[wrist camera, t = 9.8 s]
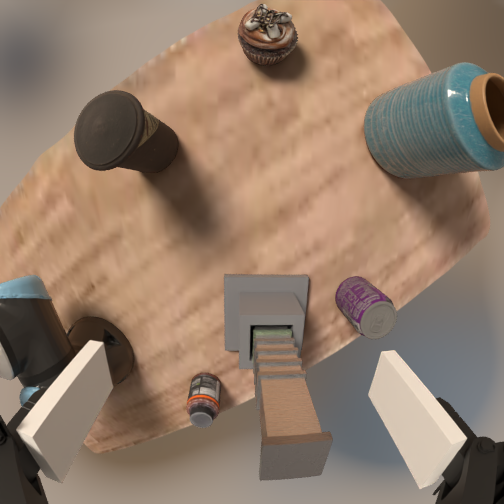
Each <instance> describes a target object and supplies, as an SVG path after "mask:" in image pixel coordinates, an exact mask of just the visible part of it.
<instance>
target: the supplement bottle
mask: <svg viewBox="0 0 504 504" xmlns="http://www.w3.org/2000/svg"><path fill="white" fill-rule="evenodd" d="M220 391H221V384H220V381H219V379H218V378H217V377H216V376H214V375H212V374H209V373H200V374H197V375H196V376H194V377H193V379H192V382H191V386H190V391H189V396H188V400H187V406H186V410H187V413H188V414H189V416H190V421H191V423H192V424H193V425H195V426H197V427H202V428H205V427H209V426H210V425H211V424H212V422H213V420H214V419H215V418H216V417H217V416H218V414H219V407H220Z"/></svg>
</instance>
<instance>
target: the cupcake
mask: <svg viewBox="0 0 504 504" xmlns="http://www.w3.org/2000/svg"><path fill="white" fill-rule="evenodd" d="M291 20H292V16H291V15H290V14H289V13H286V12H279V11H277V10H274V9H270V8H268V7H267V6H266V5H265V4H260V5H259V6H258V7H257V9H253V10H251V11H249V12H247V13H246V14H245V15H244V17H243V18H242V20H241V23H240V25H239V28H238V39H239V42H240V44H241V46H242V48H243V51H244V53H245V54H246V56H247V57H248V58H249V59H250V60H252V61H253V62H254V63H258V64H260V65H273V64H277V63H279V62H281V61H282V60H283V59H284V58H285V57H286V56H287V55H288V54H289V53H290V52H291V51H293V50H294V48H295V47H296V44H297V43H296V42H297V41H298V40H297V39H298V37H297V35H298V34H297V31H295V29H296V28H295V27H294V24H293V23H292V21H291Z"/></svg>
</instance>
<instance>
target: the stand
mask: <svg viewBox="0 0 504 504" xmlns="http://www.w3.org/2000/svg"><path fill="white" fill-rule="evenodd" d="M308 281H309V277H308V276H307V275H246V274H225V275H224V313H225V350H228V351H239V369H253V362H252V358H253V330H255V325H287V327H288V329H291V331H292V336H291V338H294V339H295V346H294V347H298V358H300V355H301V350H302V343H303V334H304V325H305V315H306V304H307V293H308Z"/></svg>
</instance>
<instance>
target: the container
mask: <svg viewBox="0 0 504 504" xmlns="http://www.w3.org/2000/svg"><path fill="white" fill-rule="evenodd" d="M74 142H75V147H76V151H77V153H78V156H79V157H80V159H81V160H82V161H83V163H84V164H86V165H87V166H88V167H90V168H92V169H94V170H99V171H105V170H110V169H113V168H116V167H120V168H126V169H132V170H136V171H141V172H146V173H155V172H159V171H161V170H163V169H165V168H166V167H167V166H168V165H169V164H170V163H171V162H172V161H173V159H174V158H175V156H176V153H177V149H178V140H177V136H176V134H175V132H174V131H173V130H172V129H171V128H170V127H168V126H167V125H166V124H164V123H163V122H161V121H160V120H158V119H157V118H156V117H154V116H153V115H151V114H150V113H148V112H147V111H146V110H144V109H143V107H142V105H141V103H140V102H139V101H138V99H137V98H136V97H134V96H133V95H132V94H130V93H127V92H124V91H118V90H114V91H108V92H105V93H103V94H100V95H98V96H97V97H95V98H94V99H92V100H91V101H90V102H89V103H88V104H87V105H86V106H85V107H84V109H83V110H82V112H81V113H80V115H79V117H78V119H77V122H76V126H75V131H74Z"/></svg>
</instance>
